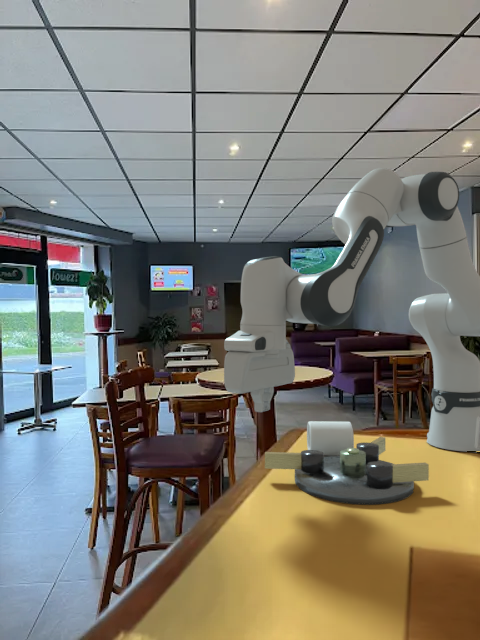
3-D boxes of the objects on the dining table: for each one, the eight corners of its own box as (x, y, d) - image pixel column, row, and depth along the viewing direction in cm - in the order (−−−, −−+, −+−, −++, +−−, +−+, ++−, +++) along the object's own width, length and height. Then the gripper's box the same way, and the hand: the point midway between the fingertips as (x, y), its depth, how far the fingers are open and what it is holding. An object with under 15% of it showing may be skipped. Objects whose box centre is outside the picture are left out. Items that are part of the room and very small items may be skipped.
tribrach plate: (362, 459, 114) (362, 431, 114) (440, 492, 93) (440, 457, 93) (274, 473, 104) (274, 442, 104) (339, 513, 84) (339, 474, 84)
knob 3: (373, 488, 89) (373, 469, 89) (362, 480, 93) (362, 462, 93) (433, 484, 91) (433, 466, 91) (420, 476, 96) (420, 458, 96)
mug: (354, 460, 114) (354, 425, 114) (310, 460, 114) (310, 425, 114) (344, 446, 126) (344, 415, 126) (304, 446, 126) (305, 414, 126)
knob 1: (323, 466, 102) (323, 450, 102) (324, 473, 97) (324, 456, 97) (265, 465, 103) (265, 448, 103) (264, 472, 98) (264, 455, 98)
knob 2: (374, 465, 102) (374, 449, 102) (353, 462, 105) (353, 446, 105) (392, 452, 112) (392, 437, 112) (373, 449, 114) (373, 434, 114)
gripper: (276, 337, 107) (276, 401, 107) (218, 341, 90) (217, 417, 90) (302, 338, 103) (302, 405, 103) (246, 342, 86) (246, 421, 86)
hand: (262, 411), depth 96 cm, fingers closed
